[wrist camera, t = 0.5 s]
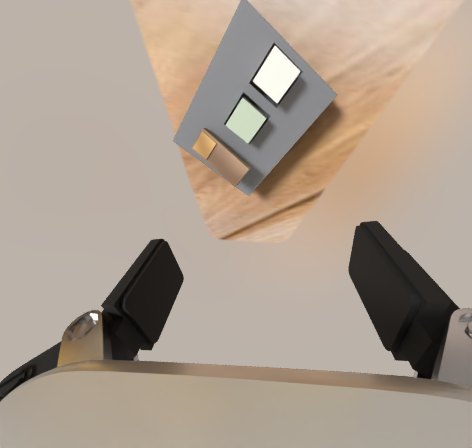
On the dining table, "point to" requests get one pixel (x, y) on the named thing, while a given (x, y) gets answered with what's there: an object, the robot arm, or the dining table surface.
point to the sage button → (246, 120)
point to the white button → (276, 75)
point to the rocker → (220, 157)
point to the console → (253, 97)
